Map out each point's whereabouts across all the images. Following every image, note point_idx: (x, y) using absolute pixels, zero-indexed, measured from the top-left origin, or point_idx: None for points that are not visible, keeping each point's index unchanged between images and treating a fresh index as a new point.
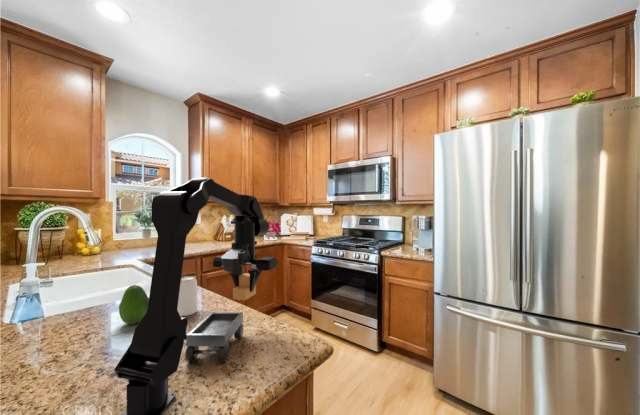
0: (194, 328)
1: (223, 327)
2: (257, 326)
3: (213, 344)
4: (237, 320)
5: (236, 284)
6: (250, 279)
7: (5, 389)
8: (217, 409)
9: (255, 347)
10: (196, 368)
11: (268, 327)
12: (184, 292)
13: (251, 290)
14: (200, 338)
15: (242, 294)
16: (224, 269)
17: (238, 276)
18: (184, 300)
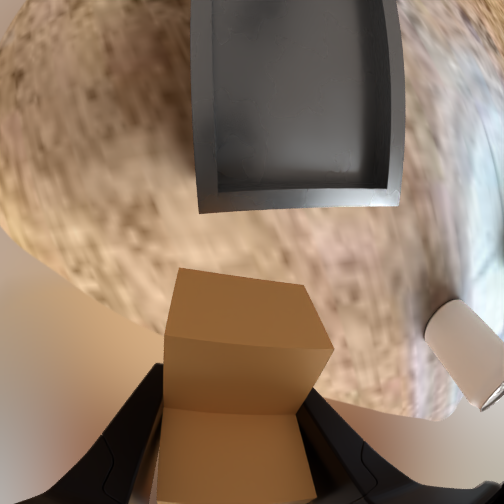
0: (393, 9)
1: (267, 65)
2: (178, 268)
3: None
4: (192, 102)
5: (317, 414)
6: (125, 463)
7: None
8: None
9: (120, 101)
10: None
11: (130, 264)
12: (490, 346)
13: (149, 371)
14: None
15: (206, 303)
16: (493, 487)
17: (320, 487)
18: (475, 329)
